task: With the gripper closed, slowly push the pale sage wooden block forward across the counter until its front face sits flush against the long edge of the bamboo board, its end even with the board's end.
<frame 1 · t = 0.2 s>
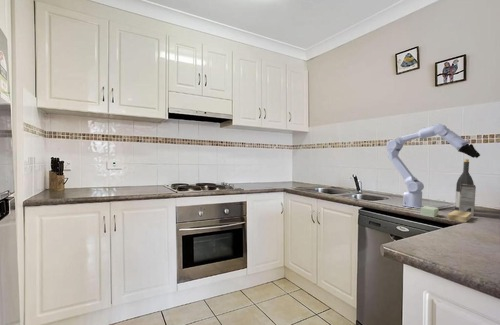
hand: (477, 156, 134), 32 cm above the countertop, tool tilted 50°, fingers open, 7 cm apart
sage block: (429, 215, 136), on the countertop
bamboo board: (459, 218, 130), on the countertop
coffee box: (466, 214, 141), on the countertop
wine bottle: (463, 210, 152), on the countertop
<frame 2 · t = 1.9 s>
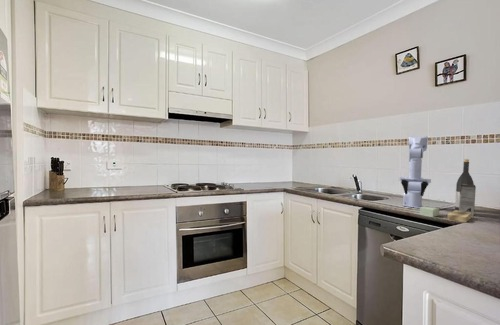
hand: (413, 194, 141), 10 cm above the countertop, tool pointing down, fingers open, 7 cm apart
nothing on the countertop moved.
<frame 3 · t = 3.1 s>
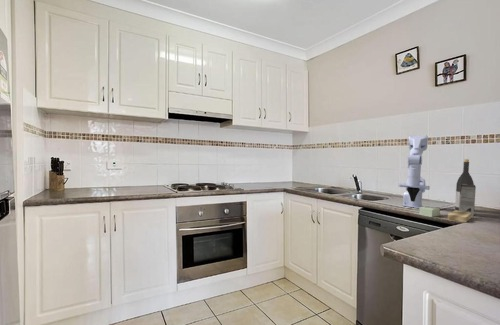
hand: (412, 201, 142), 6 cm above the countertop, tool pointing down, fingers closed
nothing on the countertop moved.
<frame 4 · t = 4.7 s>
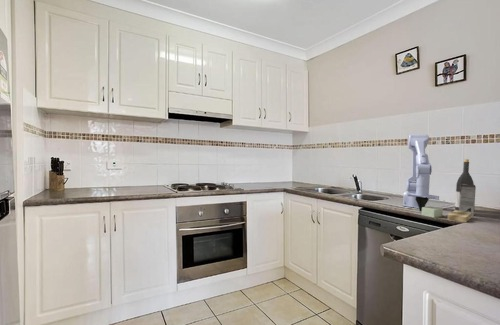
hand: (421, 211, 139), 1 cm above the countertop, tool pointing down, fingers closed
sage block: (431, 215, 135), on the countertop, touching gripper
everything else where it was.
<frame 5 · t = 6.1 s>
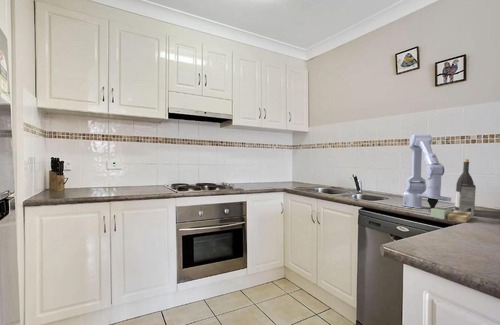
hand: (432, 213, 135), 1 cm above the countertop, tool pointing down, fingers closed, pressing on sage block
sage block: (440, 216, 132), on the countertop, touching bamboo board, gripper
everything else where it was.
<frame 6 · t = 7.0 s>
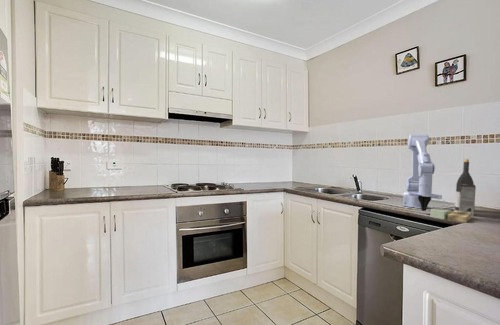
hand: (424, 210, 138), 2 cm above the countertop, tool pointing down, fingers closed
sage block: (440, 217, 132), on the countertop
everything else where it was.
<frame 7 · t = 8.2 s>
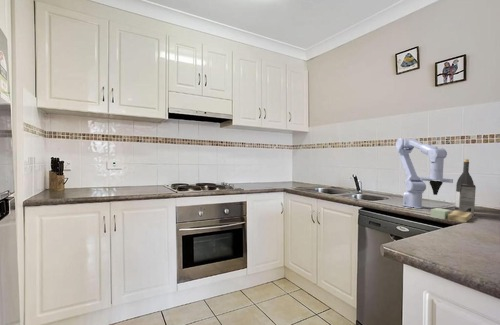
hand: (435, 194, 142), 10 cm above the countertop, tool pointing down, fingers closed
nothing on the countertop moved.
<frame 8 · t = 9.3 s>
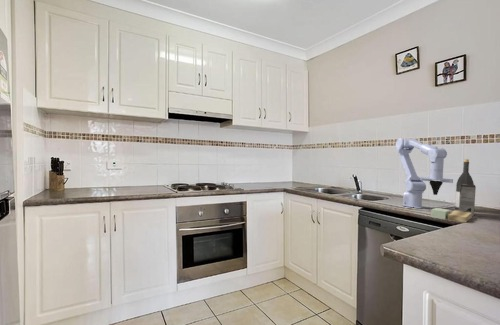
hand: (435, 194, 142), 10 cm above the countertop, tool pointing down, fingers closed
nothing on the countertop moved.
at the end: sage block 0.7 cm from the target spot on the countertop beside the bamboo board, on the countertop; sage block tilted 0° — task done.
